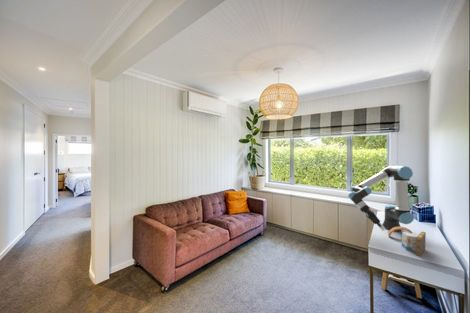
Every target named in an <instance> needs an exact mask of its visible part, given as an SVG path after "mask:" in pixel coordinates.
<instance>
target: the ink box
mask: <svg viewBox="0 0 470 313" xmlns="http://www.w3.org/2000/svg"><path fill="white" fill-rule="evenodd" d="M418 235H419V234H418ZM418 235H417V234H416V233H414V232H413V233H410V232H408V231H402V235H401V237H402V238H401V246H402V247H403V248H404V249H405V250H406V251H412V252H416V244H417V236H418Z"/></svg>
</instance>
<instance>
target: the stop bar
mask: <svg viewBox="0 0 470 313" xmlns="http://www.w3.org/2000/svg"><path fill="white" fill-rule="evenodd" d="M426 235H427V234H426V231H423V230H422V231H421V232H419V234H418V236H417V244H416V251H415V252H416V253H415V255H416V257H421V256H422V255H423V253H424V252H425V250H426Z"/></svg>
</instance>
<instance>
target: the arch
mask: <svg viewBox="0 0 470 313" xmlns="http://www.w3.org/2000/svg"><path fill="white" fill-rule="evenodd" d="M396 230H401V231H405V232H408V233H414V232H412V230H411V229H409V228H407V227H404V226H401V227H394V228H392V229H390V230H389V231H388V232H387V236H388V238H391V236H392V233H394V232H397V231H396Z"/></svg>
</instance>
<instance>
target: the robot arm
mask: <svg viewBox="0 0 470 313" xmlns="http://www.w3.org/2000/svg"><path fill="white" fill-rule="evenodd" d="M413 174H414V172H413V169H412V168H410V167H409V166H406V165H397V164H394V165H389V166H387V167H385V168H383V169H381V170H380V172H379V173H377V174H374V175H373V176H371V177H369V178H368V179H366V180H363V182H361V183H359V184H357V185H352V186H350V191H351V192H350V193H349V194H348V195H347V196H348V198H349V199H350V201H351V202H353V204H354V205H355V206H356V208H358V209H359V210H360V211H361V212H362V213H364V214H365V217H367V218H368V219H369V221H371V222H372V223H373V224H375V225H377V227H378V228H380V230H381V231H385V230H390V229H392V228H394V227H402V226H401V224H403V225H410V224H412V222H414V219H415V216H414V214H413V213H411V208H409V192H408V190H409V188H408V187H409V185H408V183H409V181H410V180H411V178H412V177H413ZM390 178H393V181H394V182H395V195H396V198H395V199H396V201H395V202H396V203H395V204H396V205H385V206H384V220H383V223H381V220H380V218H378V217H377V215H376V214H375V213H374V211H373V210H372V211H371V209H370V208H371V207H370V206H368V204H367V203H366V202H365V201H364V200H363V199H365V198H366V197H368V196H369V195H371V194H372V192H373V191H372V189H371V187H373V186H375V185H376V184H378V183H380V182H381V181H384V180H386V179H390ZM400 231H402V230H396V231H395V232H400Z"/></svg>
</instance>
